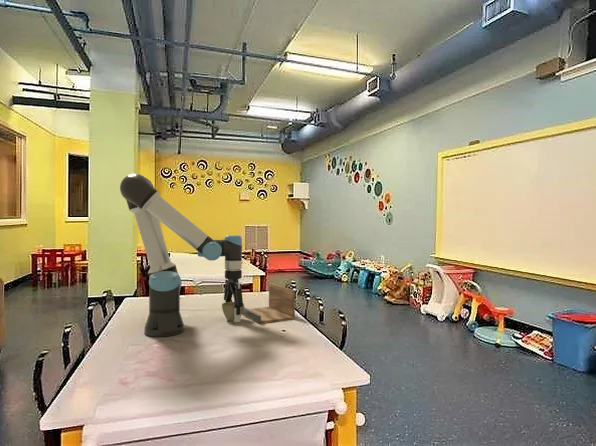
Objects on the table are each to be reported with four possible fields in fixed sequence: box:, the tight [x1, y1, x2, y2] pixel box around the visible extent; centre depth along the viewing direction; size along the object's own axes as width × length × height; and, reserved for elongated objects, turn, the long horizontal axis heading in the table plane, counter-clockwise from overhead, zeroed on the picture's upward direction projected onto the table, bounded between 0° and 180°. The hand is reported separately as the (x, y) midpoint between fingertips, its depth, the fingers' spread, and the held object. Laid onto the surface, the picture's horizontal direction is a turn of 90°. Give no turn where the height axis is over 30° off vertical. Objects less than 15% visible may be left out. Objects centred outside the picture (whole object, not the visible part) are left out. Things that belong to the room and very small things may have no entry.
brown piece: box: [241, 282, 296, 325], centre depth 193 cm, size 18×24×13 cm
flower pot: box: [221, 301, 245, 322], centre depth 186 cm, size 10×10×7 cm
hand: (232, 319), depth 186 cm, fingers closed on flower pot, 10 cm apart
